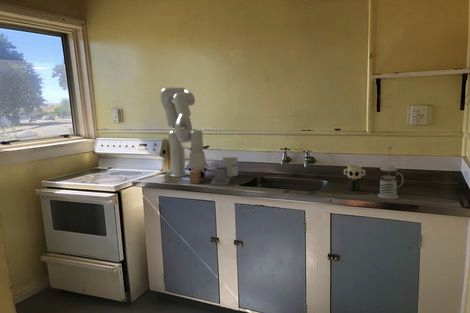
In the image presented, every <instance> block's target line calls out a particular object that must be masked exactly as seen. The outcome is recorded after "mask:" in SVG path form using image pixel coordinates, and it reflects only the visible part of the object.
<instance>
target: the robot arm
mask: <svg viewBox="0 0 470 313" xmlns="http://www.w3.org/2000/svg"><path fill="white" fill-rule="evenodd" d="M195 100H196V99H195V95H194V94H193V93H192V92H191V91H190V90H188V89H186V88H184V87H165V88H162V89H161V91H160V102H161V104H162V106H163V109H164V112H165V118H166V121H167V126H168V127H169V128H171V130H169V132H168V133H167V134H168V135H167V138H168V139H167V140H168V142H169V148H170V149H169V153H170V169H165V170H164V172H165V174H169V177H172V178H181V177H186V176H188V175H189V173H190V172H191V171H193V170H194V169H196V168H201V169H202V179H203V178H204V172H205V171H206V172H207V170H208V169H210V164H208V163H207V162H206V160H207V159H206V155H205V151H204V138H203V137H204V135H203V131H202V130H199V129H196V128H195V129H194V128H193V126H192V122H191V118H190V116H191V115H192V114H191V113H192V112H191V110H190V107H189V106H193V105H195V102H196V101H195ZM185 143H186V144H187V143H190V147H189V148H188V151H190V152H189V157H188V163H187V165H186V156H185V155H186V154H185V152H186V151H185V148H184V145H182V144H185ZM204 167H205V169H204ZM186 169H187V170H188V172H189V173H188V172H186Z"/></svg>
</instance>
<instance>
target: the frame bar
mask: <svg viewBox="0 0 470 313" xmlns="http://www.w3.org/2000/svg"><path fill="white" fill-rule="evenodd" d="M205 168H206V166H205V167H204V169H205ZM206 172H207V170H206V171H205V172H204V178H203V179H202V169H201V168H194V170H193V171H191V172H190V171H189V184H194V185H195V184H200V183H201V182H203V181H204V180H205V179H206V175H207V174H206Z"/></svg>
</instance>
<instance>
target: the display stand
mask: <svg viewBox="0 0 470 313" xmlns="http://www.w3.org/2000/svg"><path fill="white" fill-rule="evenodd" d="M231 178H232V177H231V176H227V166H223V165H222V166H217V167H216V170H214V171H213V179H212V180H211V182H210V186H228V185H229V183H230V181H231Z"/></svg>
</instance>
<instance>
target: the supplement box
mask: <svg viewBox="0 0 470 313" xmlns="http://www.w3.org/2000/svg"><path fill="white" fill-rule="evenodd" d="M222 166H227V176H231V178H232V177H237V176H238V174H239V173H238V172H239V171H238V169H239V168H238V157H237V156H225V157H222Z"/></svg>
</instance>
